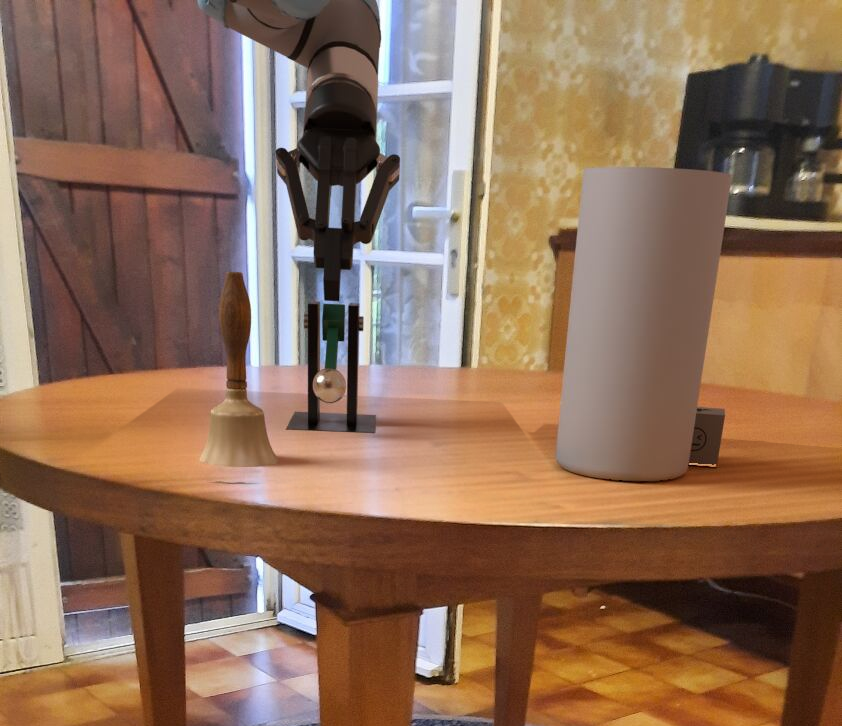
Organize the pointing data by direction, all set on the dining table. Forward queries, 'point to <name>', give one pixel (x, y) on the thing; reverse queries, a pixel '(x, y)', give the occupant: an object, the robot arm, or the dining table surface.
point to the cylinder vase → (639, 319)
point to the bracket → (350, 420)
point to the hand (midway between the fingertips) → (331, 290)
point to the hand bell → (237, 391)
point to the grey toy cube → (707, 435)
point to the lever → (331, 355)
